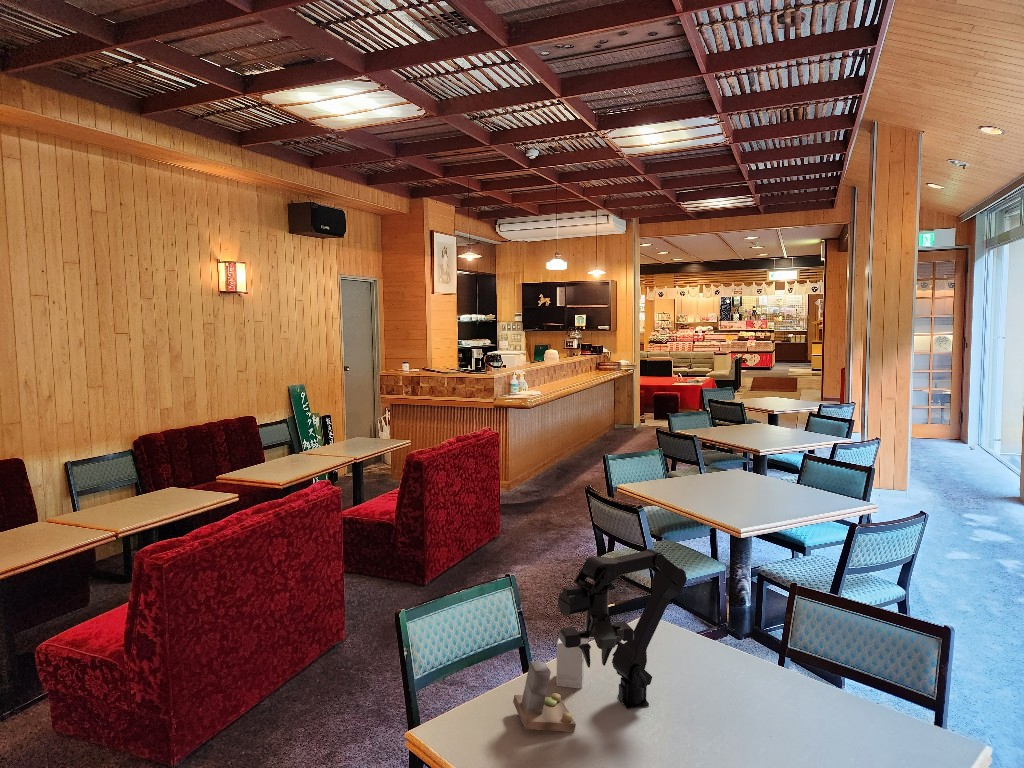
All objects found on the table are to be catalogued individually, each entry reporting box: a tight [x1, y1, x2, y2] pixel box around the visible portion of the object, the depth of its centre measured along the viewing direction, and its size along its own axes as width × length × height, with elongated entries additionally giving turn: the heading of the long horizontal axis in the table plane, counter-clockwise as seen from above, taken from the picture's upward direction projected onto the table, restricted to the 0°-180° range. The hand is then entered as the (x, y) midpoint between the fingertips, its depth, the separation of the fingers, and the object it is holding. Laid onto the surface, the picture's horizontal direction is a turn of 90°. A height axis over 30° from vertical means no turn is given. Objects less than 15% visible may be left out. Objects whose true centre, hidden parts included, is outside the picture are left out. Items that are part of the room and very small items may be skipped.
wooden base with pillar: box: [512, 660, 577, 733], centre depth 168 cm, size 13×12×13 cm
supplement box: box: [555, 637, 585, 689], centre depth 188 cm, size 7×7×13 cm
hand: (596, 665), depth 171 cm, fingers open, 4 cm apart
